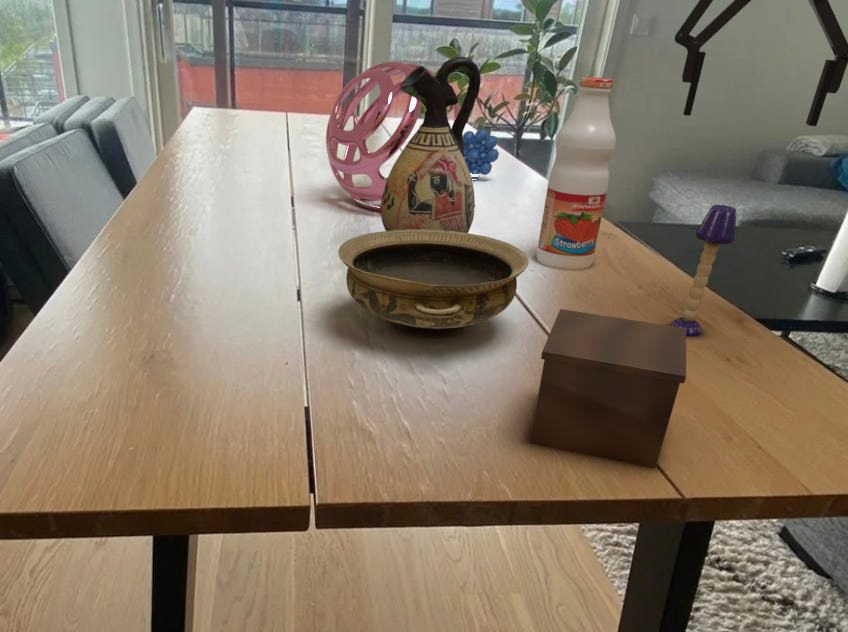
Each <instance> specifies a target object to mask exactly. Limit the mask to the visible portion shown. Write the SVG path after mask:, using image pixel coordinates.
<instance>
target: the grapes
mask: <svg viewBox="0 0 848 632" xmlns="http://www.w3.org/2000/svg"><path fill="white" fill-rule="evenodd" d="M488 135H489V132H488V131H487V130H486V128H480V129H477V131H476V132H475V133H474V131H472V130H467V131H466V132H463V135H462V137H463V152H464V159H465V162H466V164H467V167H468V170H469V172H470V173H472V174H480V175H482V174H483V175H482V176H486V175H488V174H490V173H491V172H492V167H493V165H492V163H495V162H496V161H497V160H498V158H499V156H500V153H499V150H498V149H497V148H495V147H496V146H497V144H498V138H497V136H495V135H489V136H488ZM471 178H472V179H477V180H478V179H479V178H480V176H479V177H471Z"/></svg>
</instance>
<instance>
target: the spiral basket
mask: <svg viewBox="0 0 848 632" xmlns="http://www.w3.org/2000/svg"><path fill="white" fill-rule="evenodd" d="M419 66H421V65H420V64H416V63H405V62H402V61H395V60H394V61H392V60H391V61H385V62H380V63H377V64H375V65H372V66H370V67H368V68H367V69H365V70H364V71H362V72H360V73H359V74H357V75H356V76H355V77H354V78H352V79H351V80H350V81H348V83H347V84H346V85H345V86H344V87H343V88H342V89H341V91H340V92H339V94H338V96H337V97H336V100H335V102H334V103H333V106H332V109H331V113H330V115H329V118H328V121H327V126H326V131H325V147H326V154H327V158H328V163H329V167H330V169H331V172H332V174H333V176H334V178H335V180H336V182H337V184H339V186H340V187H341V188H342V189H343V190H344V191H346V192H347V194H348V195H349V196H350V197H351V198H352V199H353V198H354V199H356V200H359V201H361V200H367V201H382V196H383V192H384V188H385V185H386V182H387V179H388V177H385V176H384V175H383V174H382V173H381V171H380V170H381V169H380V168H381V167H382V166H383V165H384V164H385V163H386V162H388V161H389V160H390V159H391V158H392V157H394V156H395V154H396V153H397V152H398V151H399V150H400V149H401V147H402V146H403V145H404V144H405V142H406V141H407V139H409V137H410V135H411V133H412V132H413V130H414V128H415V126H416V123H417V121H418V118H419V115H420V112H421V109H422V105H423V103H422V102H421V101H419V100H417V99H416V98H414V97H412V96H411V95H409V94H408V100H407V104H406V108H405V111H404V114H403V115H402V118H401V120H400V122H399V123H398V126H397V128H396V129H395V131H393V133H392V135H391V136H390V137H389V138H388V139H387V141H386V142H385V143H383V144H382V145H381V146H380V147H379V148H378V149H377V150H375V151H373V152H371V151H370V150H369V149H368V145H367V142H366V141H367V139H368V138H369V137H371V136H372V135H373V134H374V133H375V132H376V131H377V130H378V129H379V128H380V126H381V125H382V124H383V123H384V121H385V119H386V118H387V116H388V114H389V112H390V110H391V107H392V105H393V101H394V100H395V99H396V98H398V97H399V96H401V95H403V94H405V93H404V92H402V91H401V90H400V87H401V84H402V82H403V81H404V80H401V81H399V82H397V83H395V84H394V82H393V81H394V80H393V79H392V77H393V76H395V75H397V74H401V73H403V74H404V76H405V79H406V78H407V76H408V75H409V74H410V73H411V72H412V71H413V70H415V69H416V68H418V67H419ZM423 67H424V68H425V69H426V70H427V71H428V72H429V73H430V74H431V75H432V76H433V77H435V76H436V75H437V74H435V72H434V71H432V70H430V69H429V68H427V67H425V66H423ZM383 69H384V70H383ZM367 79H368V80H367ZM363 80H367V82H365V83H364V84H363V85H362V86H361V87H360V88H359V89H358V90H357V91H356V93H355V94H353V96H352V97H351V98H350V100H349V102H347V104H346V106H345V107H344V109H343V110H342V112H341V113H340V114H339V116H338V112H339V110H341V109H340V108H341V107H342V105H343V103H344V102H345V101H346V99H347V97H348V96H349V95H350V94H351V93H352V91H353V90H354V89H355V87H357V86H358V85H359V84H360V83H361V82H363ZM377 86H379V96H378V97H377V98H376V99H375V100H373V102H371V104H370V105H369V106H368V107H367V109H366V110H365V111H364V112H363V114H362V115H361V116H360V118H359V119H358V117H357V115H356V114H353V112H354V111H355V110H356V109H357V107H358V105H359V104H360V103H361V102H362V101H363V100H364V98H365V97H366V96H367V95H368V94H369V93H370V92H371V91H372V90H374V89H375V88H376V87H377ZM452 106H453V114H454V115H453V117H454V118H453V122H454V121H455V119H456V118H457V115H458V113H459V111H460V109H461V106H460V102H459V101H458V103H457V104H455V105H452ZM352 115H353V118H352V119H353V121H352V122H353V126H352V129H349V130H346V129H345V127H346V125H347V123H348V121H349V119H350V118H351V116H352ZM337 116H338V117H337ZM339 145H341V146H346V147H345V152H344V156H343V159H341V158H340V157H338V151H339ZM357 150H358V151H359V158H358V159H357V160H355V155H356V152H357ZM340 172H341V173H342V175H341V174H340ZM354 175H356V176H357V175H367V177H368V178H370V181H371V184H370V185H368V186H356V185H355V184H354V181H353V176H354ZM342 176H343V177H342ZM354 199H353V200H354ZM360 199H361V200H360ZM355 203H357V204H358V205H360V206H361V207H363V208H365V209H367V210H371V211H375V212H381V211H380V208H377V207H372V206H369V205H365V204H362V203H359V202H357V201H355ZM371 204H372V205H374V206H378V207H381V203H380V204H379V203H378V204H375V203H374V204H373V203H371Z"/></svg>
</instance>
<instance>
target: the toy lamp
mask: <svg viewBox="0 0 848 632" xmlns="http://www.w3.org/2000/svg"><path fill="white" fill-rule="evenodd" d="M736 223H737V209H736V208H735V207H733V206H729V205H726V204H713V205H712V206H711V207H710V208H709V210H708V211H707V213H706V215H705V216H704V218H703V220H702V222H701V224H700V225H699V227H698V228H697V230H696V232H695V237H696V238H697V239H699V240H700V241H703V242H705V243H704V245H703V252H702V253H701V255H700V260H699V261H700V263H699V264H698V265H697V268H696V274H695V275H694V278H693V280H692V284H693V285H692V286H691V287H690V290H689V294H688V295H689V297H687V300H686V302H685V308H684V310H683V312H682V317H679V318H676V319H674V320H673V321H672V322H671V323H670V324H669V326H674V327H680V328H686V338H693V337H694V338H695V337H699V336H701V335H702V327H701V325H700V323H699V322H698V321H697V320H696V318H697V315H698V310H699V308H700V306H701V303H702V298H703V296H704V295H705V290H706V289H705V288H706V287H707V285H708V282H709V276H710V275H711V272H712V270H713V264H714V263H715V261H716V257H717V252H718V251H719V249H720V246H721V245H730V244H733V243H734V242H735V238H736V228H737V227H736V225H737V224H736Z"/></svg>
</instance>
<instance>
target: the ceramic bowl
mask: <svg viewBox="0 0 848 632" xmlns="http://www.w3.org/2000/svg"><path fill="white" fill-rule="evenodd" d="M337 253H338V258H339V259H340V261H341V262H342V263H343V264H344V265H345V266H346V267H347V270H346V279H345V280H346V287H347V291H348V293H349V294H350V296H351V297H352V299H353V300H354V301H355V302H356V304H357V305H358V306H360V307H361V308H363V309H364V310H365V311H367V312H368V313H370V314H372V315H373V316H376V317H379V318H380V319H383V320H386V321H389V322H392V323H395V324H398V327H399V328H400V329H401V330H402V331H403V332H406V333H408V334H411V335H415V336H419V337H427V338H440V337H441V338H442V337H448V336H452V335H455V334H456V333H458V331H459V328H461V327H467V326H468V327H469V326H473V325H477V324H479V323H482V322H485V321H488V320H490V319H492V318H494V317H496V316H497V315H499V314H501V313H502V312H504V311H505V310H506V309H507V308H508V307H509V306H510V305H511V303H512V302H513V300H514V298H515V296H516V292H517V287H518V281H517V278H518V277H519V276H520V275H521V274H522V273H524V272H525V271H526V270H527V268H528V267H529V263H530V262H529V261H530V260H529V256H528V255H527V254H526V253H525V252H524V251H523V250H522V249H521V248H518V247H517V246H515V245H514V244H511V243H509V242H506V241H503V240H500V239H497V238H494V237H489V236H487V235H486V236H485V235H481V234H475V233H469V232H468V233H463V232H456V231H443V230H429V229H406V230H392V231H387V232H386V230H385V231H384V230H383V231H382V230H381V231H376V232H370V233H366V234H365V233H364V234H360V235H358V236H355V237H352V238H350V239H348V240H346V241H344V242H343V243H342V244H341V245H340V246H339V247H338V251H337Z"/></svg>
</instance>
